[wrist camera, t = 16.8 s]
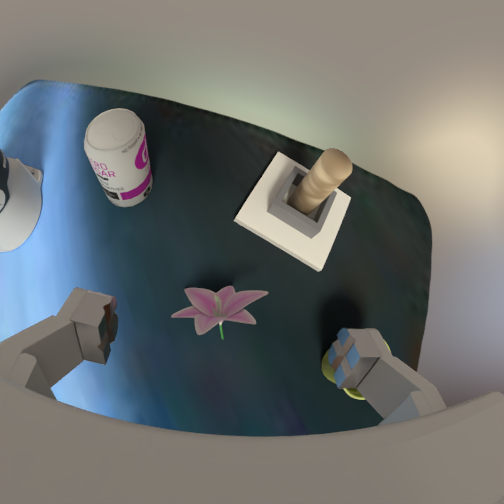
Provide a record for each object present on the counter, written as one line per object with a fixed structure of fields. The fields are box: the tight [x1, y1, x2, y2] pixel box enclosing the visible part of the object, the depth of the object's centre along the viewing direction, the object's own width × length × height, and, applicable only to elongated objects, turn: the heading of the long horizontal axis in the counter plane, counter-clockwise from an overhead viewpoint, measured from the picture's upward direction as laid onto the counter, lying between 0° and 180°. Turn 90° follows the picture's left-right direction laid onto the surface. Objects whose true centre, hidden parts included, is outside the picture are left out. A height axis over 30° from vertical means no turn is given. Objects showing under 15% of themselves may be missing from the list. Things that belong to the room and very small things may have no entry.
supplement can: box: [84, 108, 153, 207], centre depth 35 cm, size 8×8×15 cm
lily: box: [171, 286, 269, 339], centre depth 37 cm, size 12×12×10 cm
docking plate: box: [234, 152, 351, 272], centre depth 46 cm, size 16×16×5 cm
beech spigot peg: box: [287, 148, 352, 216], centre depth 40 cm, size 4×4×14 cm
